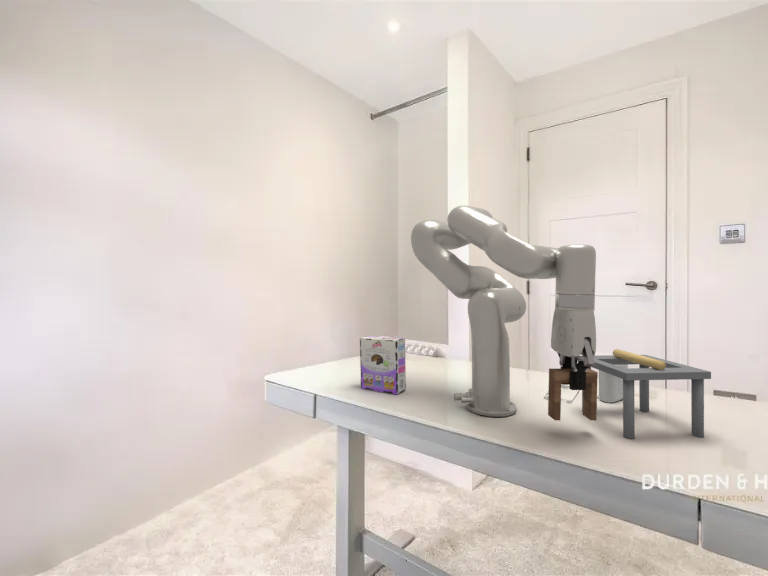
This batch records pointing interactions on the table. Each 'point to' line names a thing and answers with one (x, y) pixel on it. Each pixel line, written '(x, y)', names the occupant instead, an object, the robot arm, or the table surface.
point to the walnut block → (564, 377)
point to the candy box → (383, 364)
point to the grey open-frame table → (657, 372)
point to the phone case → (561, 398)
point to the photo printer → (610, 386)
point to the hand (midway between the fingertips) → (572, 386)
